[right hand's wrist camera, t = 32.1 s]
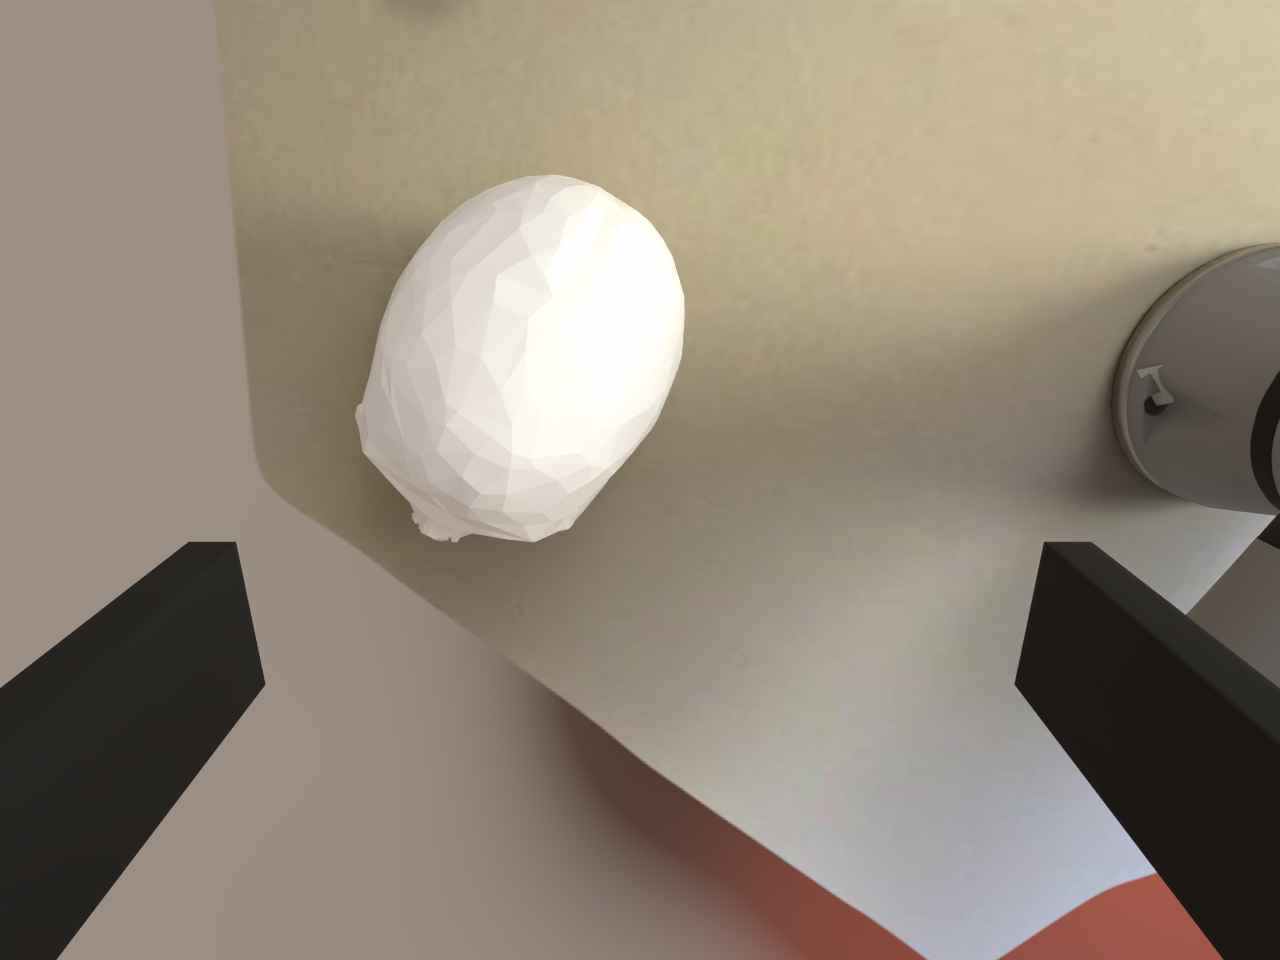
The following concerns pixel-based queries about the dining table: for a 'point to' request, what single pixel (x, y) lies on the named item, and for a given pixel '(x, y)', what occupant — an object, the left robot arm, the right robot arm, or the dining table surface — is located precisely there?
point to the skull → (522, 359)
